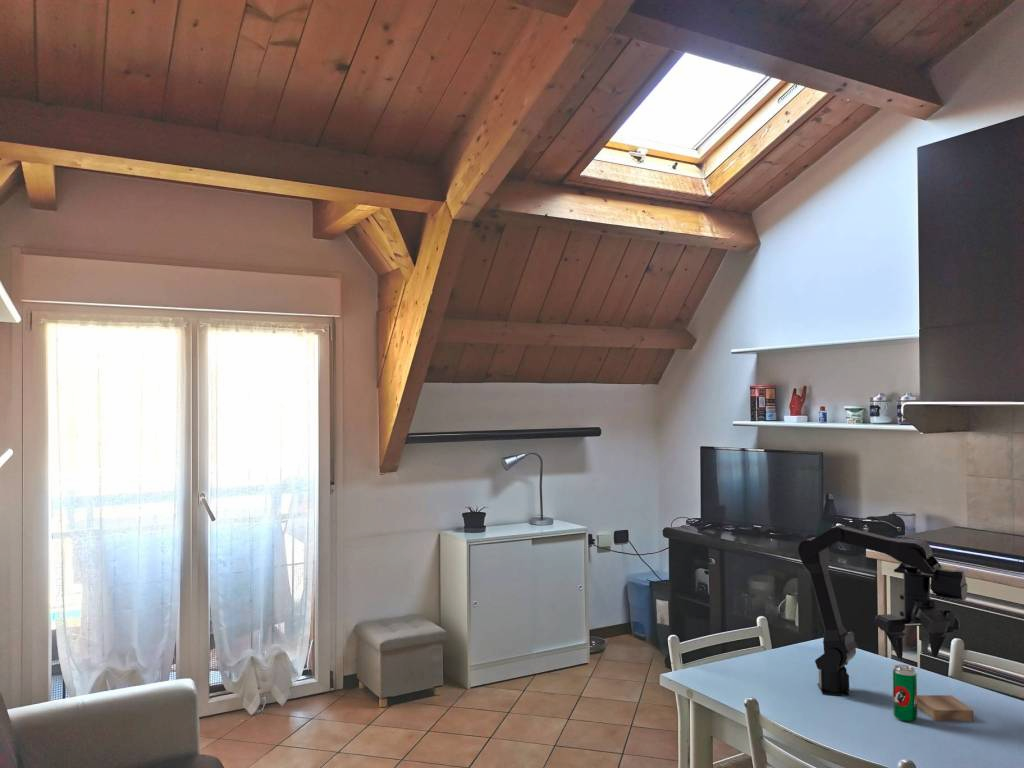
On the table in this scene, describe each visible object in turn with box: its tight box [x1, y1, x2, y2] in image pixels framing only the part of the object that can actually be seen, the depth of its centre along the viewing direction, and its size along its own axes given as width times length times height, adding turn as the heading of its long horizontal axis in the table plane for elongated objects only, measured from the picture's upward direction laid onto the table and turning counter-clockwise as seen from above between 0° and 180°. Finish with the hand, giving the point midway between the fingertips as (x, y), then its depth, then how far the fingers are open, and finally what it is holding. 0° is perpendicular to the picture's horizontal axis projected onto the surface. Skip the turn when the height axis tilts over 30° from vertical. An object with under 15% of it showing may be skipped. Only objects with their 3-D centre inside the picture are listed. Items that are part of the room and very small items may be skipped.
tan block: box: [917, 694, 975, 722], centre depth 180 cm, size 9×9×2 cm
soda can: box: [892, 664, 919, 723], centre depth 177 cm, size 5×5×12 cm
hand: (917, 657), depth 181 cm, fingers open, 9 cm apart
